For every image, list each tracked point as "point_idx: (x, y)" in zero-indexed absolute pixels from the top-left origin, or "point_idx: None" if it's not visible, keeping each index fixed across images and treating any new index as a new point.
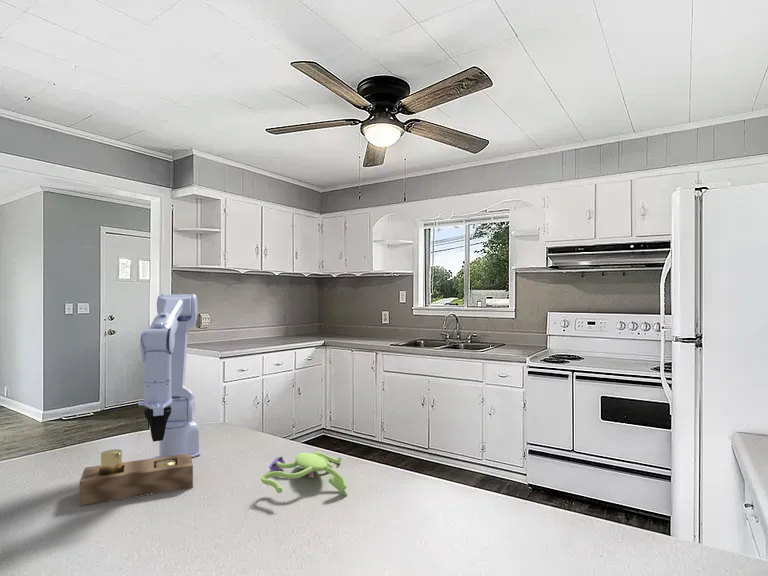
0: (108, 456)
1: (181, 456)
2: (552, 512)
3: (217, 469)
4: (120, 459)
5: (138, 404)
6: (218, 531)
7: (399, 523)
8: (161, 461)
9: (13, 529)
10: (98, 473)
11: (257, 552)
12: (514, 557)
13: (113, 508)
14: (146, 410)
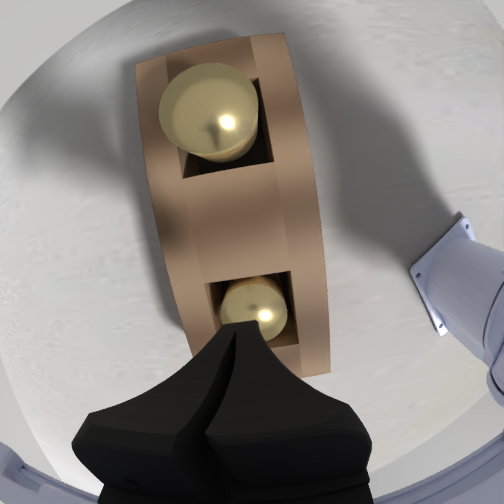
0: (160, 110)
1: (307, 354)
2: None
3: (323, 387)
4: (201, 156)
5: (43, 496)
6: (48, 369)
7: (97, 478)
8: (276, 298)
9: (95, 28)
10: None
11: (26, 388)
12: (69, 482)
13: (122, 179)
14: (180, 469)
